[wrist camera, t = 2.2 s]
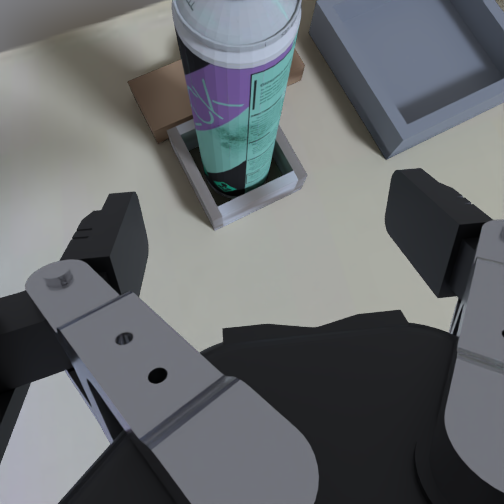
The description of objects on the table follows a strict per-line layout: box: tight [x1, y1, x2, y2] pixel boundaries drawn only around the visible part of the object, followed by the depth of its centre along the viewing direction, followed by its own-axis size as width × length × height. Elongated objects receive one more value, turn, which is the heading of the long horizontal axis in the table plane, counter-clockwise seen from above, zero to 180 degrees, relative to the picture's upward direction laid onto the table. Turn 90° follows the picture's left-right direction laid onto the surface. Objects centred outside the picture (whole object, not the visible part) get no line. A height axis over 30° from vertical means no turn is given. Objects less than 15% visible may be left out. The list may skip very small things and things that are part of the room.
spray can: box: [172, 0, 302, 199], centre depth 23 cm, size 6×6×20 cm
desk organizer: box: [128, 48, 307, 230], centre depth 32 cm, size 14×15×4 cm
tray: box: [309, 0, 504, 160], centre depth 34 cm, size 14×14×4 cm
